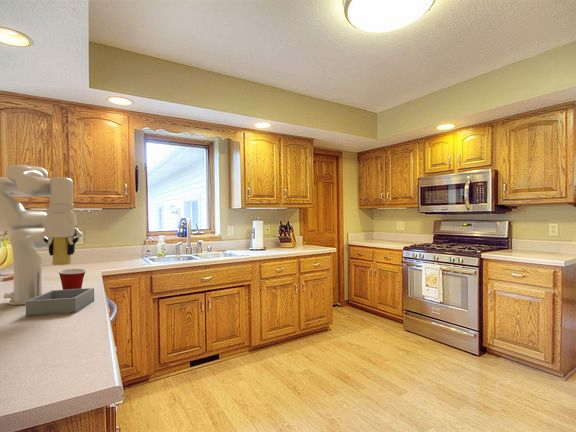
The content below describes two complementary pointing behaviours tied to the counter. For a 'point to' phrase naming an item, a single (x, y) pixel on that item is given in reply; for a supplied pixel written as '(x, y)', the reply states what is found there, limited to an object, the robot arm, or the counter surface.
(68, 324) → the counter surface
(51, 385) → the counter surface
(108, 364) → the counter surface
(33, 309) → the box
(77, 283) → the plastic cup
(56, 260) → the vase
